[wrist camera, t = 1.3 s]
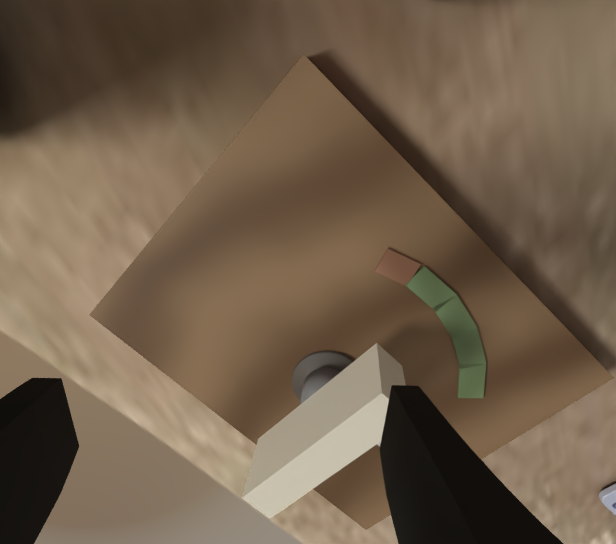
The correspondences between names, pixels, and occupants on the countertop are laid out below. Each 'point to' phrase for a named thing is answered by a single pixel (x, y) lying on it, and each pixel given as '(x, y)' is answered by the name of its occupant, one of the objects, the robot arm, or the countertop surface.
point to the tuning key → (323, 430)
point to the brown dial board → (339, 289)
